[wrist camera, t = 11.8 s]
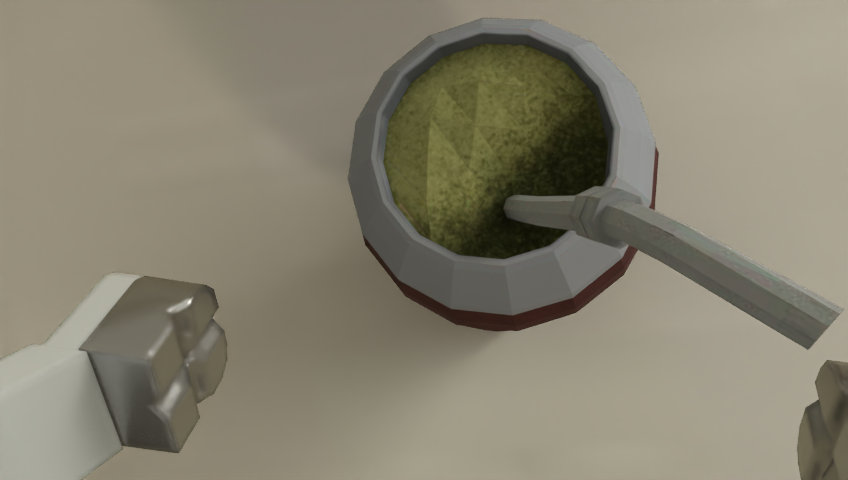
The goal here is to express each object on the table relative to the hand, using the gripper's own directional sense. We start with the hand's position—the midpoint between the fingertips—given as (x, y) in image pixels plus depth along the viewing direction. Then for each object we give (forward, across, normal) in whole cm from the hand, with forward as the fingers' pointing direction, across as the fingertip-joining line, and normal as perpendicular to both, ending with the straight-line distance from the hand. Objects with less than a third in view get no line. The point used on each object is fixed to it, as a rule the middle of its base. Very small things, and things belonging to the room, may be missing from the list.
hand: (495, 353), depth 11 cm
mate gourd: (+12, 0, +6) cm, 13 cm away
